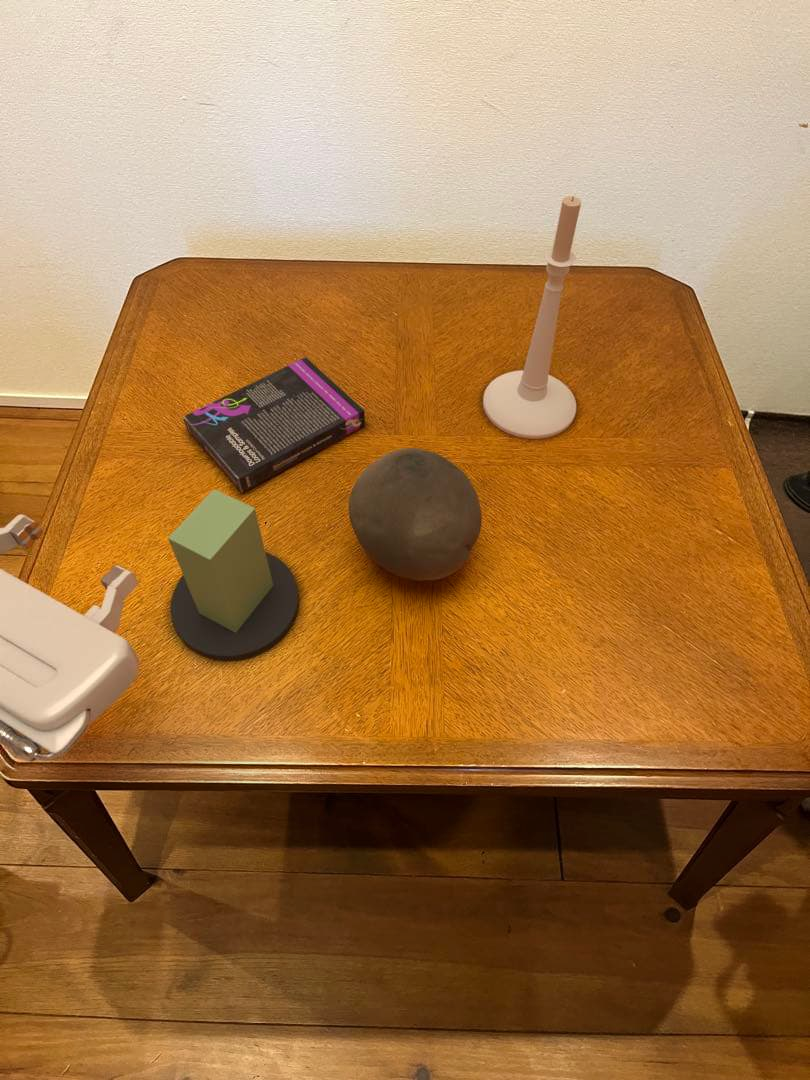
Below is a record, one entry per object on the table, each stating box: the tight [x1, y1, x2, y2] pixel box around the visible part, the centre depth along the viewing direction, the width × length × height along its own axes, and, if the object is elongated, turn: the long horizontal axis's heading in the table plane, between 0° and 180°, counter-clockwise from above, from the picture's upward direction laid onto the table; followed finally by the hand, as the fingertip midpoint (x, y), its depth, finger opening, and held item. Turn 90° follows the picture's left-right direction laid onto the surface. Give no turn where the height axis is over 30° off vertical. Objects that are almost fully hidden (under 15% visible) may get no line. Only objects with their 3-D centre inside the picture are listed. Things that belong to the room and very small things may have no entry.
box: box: [182, 356, 366, 494], centre depth 97 cm, size 14×4×20 cm
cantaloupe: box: [348, 447, 483, 581], centre depth 81 cm, size 14×14×15 cm
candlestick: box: [482, 195, 582, 440], centre depth 90 cm, size 13×13×30 cm
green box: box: [167, 488, 273, 633], centre depth 76 cm, size 5×7×14 cm
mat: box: [170, 551, 300, 662], centre depth 82 cm, size 14×14×1 cm
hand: (79, 547), depth 55 cm, fingers open, 8 cm apart
